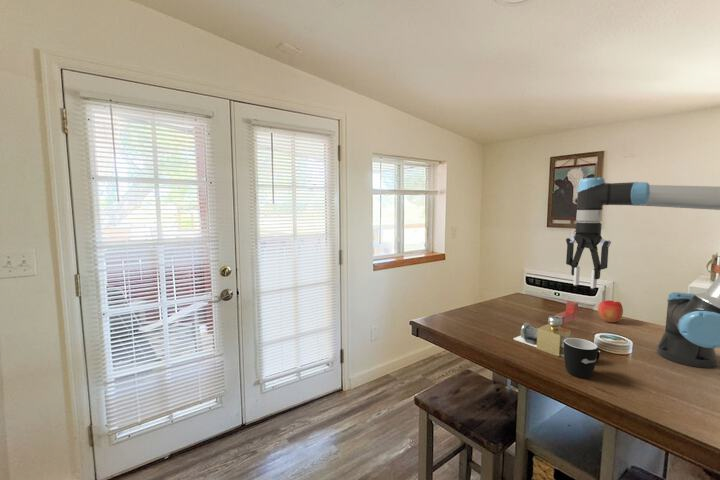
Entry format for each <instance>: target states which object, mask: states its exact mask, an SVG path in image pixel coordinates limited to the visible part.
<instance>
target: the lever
mask: <svg viewBox="0 0 720 480" xmlns="http://www.w3.org/2000/svg"><path fill="white" fill-rule="evenodd" d="M578 314H579V302H575V301H571V300H569V301H567V302H566V304H565V311H561V312H559V313H556V314H555V315H553V316H552V315H550V316H548V320H547V324H549V325H551V326H558V327H561V325H564V324H566V323H569V322H572V321H574V320H575V319H577V318H578Z"/></svg>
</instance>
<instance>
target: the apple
mask: <svg viewBox="0 0 720 480" xmlns="http://www.w3.org/2000/svg"><path fill="white" fill-rule="evenodd" d="M597 313H598V315H599V317H600V318H601V319H602V320H603V321H604V322H606V323H616V322H619V320H621V318H622V317H623V315H624V308H623V305H622V303H621V302H620V301H614V300H611V299H610V300H609V299H608V300H602V301H601V302H599V303H598V306H597Z"/></svg>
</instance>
